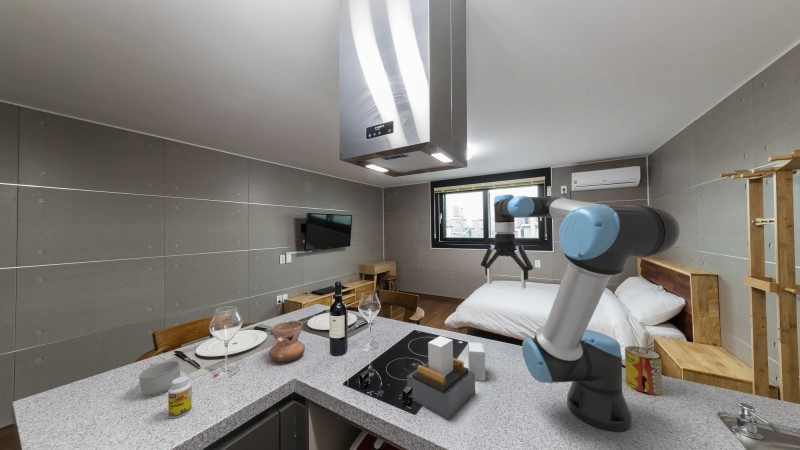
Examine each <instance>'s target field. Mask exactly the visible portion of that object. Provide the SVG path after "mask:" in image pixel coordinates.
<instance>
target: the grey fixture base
mask: <svg viewBox="0 0 800 450" xmlns="http://www.w3.org/2000/svg"><path fill="white" fill-rule="evenodd" d="M406 382H407V383H406V384H407V386H406V387H411V388H413V391H412V393H413V400H414V402H415V403H416V404H419V405H420V404H421V405H420V406H422V407H424V408H426V409H427V410H429V411H431V412H433V413H435V414H437V416H440V417H442V418H443V419H445V420H447V421H448V422H450V421H452V419H453V418H454V417H455V416H456V415H457V413H459V412H460V411H461V410H462V408H464V407H465V405H467V403H468V402H469V401H470V400H471V399H472V398H473V397H474V396H475V395H476V380H475V373H473V372H471V371H469V367H466V366H465V361H463V360H460V359H458V358H455V357H453V370H452V371H451V372H450V373H449V374H447V375H446V376H444V375H442V374H440V373H437V372H435V371H433V370H431V369H429V362H427V363H425V364H423V365H421V364H419V365H417V369H415V370H414V371H412V372H411V373H410V374H408V375H407V376H406ZM413 400H412V401H413Z"/></svg>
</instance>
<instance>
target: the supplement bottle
mask: <svg viewBox="0 0 800 450" xmlns="http://www.w3.org/2000/svg"><path fill="white" fill-rule="evenodd" d="M192 387H193V384H192V382H190V381H189V376H184V375H183V376H180V377H179V378H176V379H175V380H173V381H172V387H171V388H170V389H169V390H168V391H167V394H168V395H167V397H168V398H167V399H168V401H167V403H168V404H167V406H168V407H167V409H168V410H167V411H168V412H167V413H168V418H170V419H177V417H178V418H180V417H183V416H185V415H187V414H188V413H189V412H191V410H192V407H193V406H192V404H193V403H192V402H193V400H192V399H193V398H192V397H193V395H192V393H193V392H192V391H193V390H192Z"/></svg>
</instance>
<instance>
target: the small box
mask: <svg viewBox="0 0 800 450" xmlns="http://www.w3.org/2000/svg"><path fill="white" fill-rule="evenodd" d="M467 354H468V355H467V357H468V359H467V360H468V369H469V371H471V372H473V373H475V381H480V382H486V381H487V379H486V378H487V377H486V353H485V348H484V345H483V343H482V342H470V341H469V342H467Z"/></svg>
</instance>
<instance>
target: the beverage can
mask: <svg viewBox="0 0 800 450" xmlns="http://www.w3.org/2000/svg"><path fill="white" fill-rule="evenodd" d="M624 357H625V364H624V365H625V384H626V385H627V386H628V387H629V388H630V389H632V390H634V391H635V390H636V391H635V392H637V393H640V394H644V395H647V396H652V397H654V396H655V397H658V396H657V395H659V396H661V395H663V386H662V385H663V378H662V376H663V374H662V355H661V354H660V353H659V352H657V351H655V350H652V349H650V348H647V347H641V346H635V345H628V346H625V347H624Z"/></svg>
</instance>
